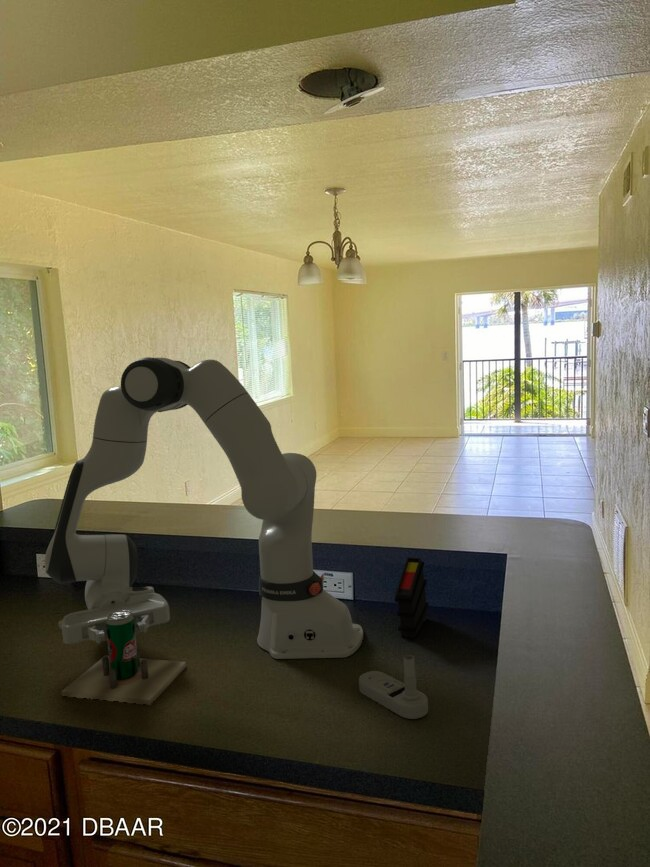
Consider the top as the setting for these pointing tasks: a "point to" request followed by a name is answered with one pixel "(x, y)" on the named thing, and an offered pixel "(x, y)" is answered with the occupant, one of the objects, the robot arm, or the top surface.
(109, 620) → the soda can
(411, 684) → the electronic device
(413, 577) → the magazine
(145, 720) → the top surface
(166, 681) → the can tray
